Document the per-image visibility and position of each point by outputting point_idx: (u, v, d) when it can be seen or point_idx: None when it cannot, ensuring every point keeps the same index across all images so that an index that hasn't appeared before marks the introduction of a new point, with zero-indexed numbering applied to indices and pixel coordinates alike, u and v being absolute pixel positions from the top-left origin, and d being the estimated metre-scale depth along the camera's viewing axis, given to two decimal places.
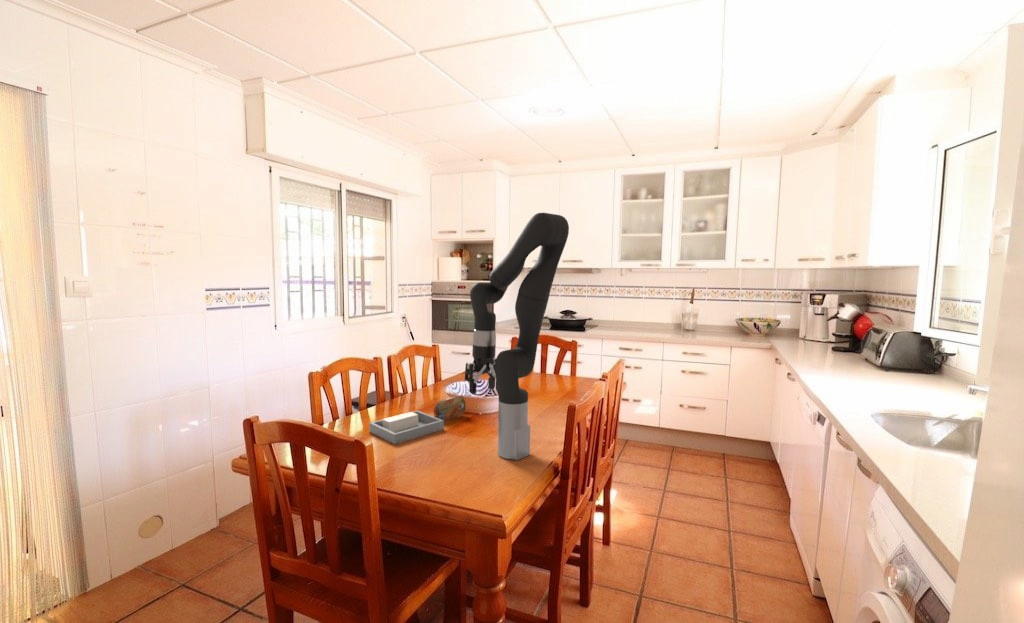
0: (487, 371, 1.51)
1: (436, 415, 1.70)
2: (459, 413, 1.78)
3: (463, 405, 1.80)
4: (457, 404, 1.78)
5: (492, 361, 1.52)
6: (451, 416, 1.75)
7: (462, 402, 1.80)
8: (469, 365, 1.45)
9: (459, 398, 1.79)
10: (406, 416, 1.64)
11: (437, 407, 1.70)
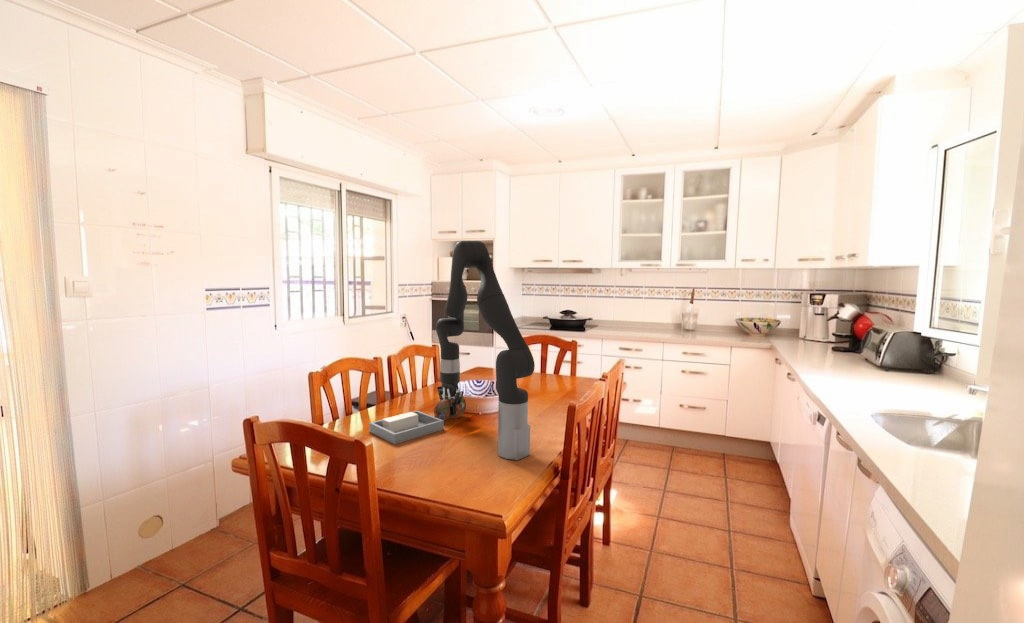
0: None
1: (436, 415, 1.70)
2: (459, 413, 1.78)
3: (463, 405, 1.80)
4: None
5: None
6: (451, 416, 1.75)
7: (462, 402, 1.80)
8: (462, 394, 1.71)
9: None
10: (406, 416, 1.64)
11: (437, 407, 1.70)
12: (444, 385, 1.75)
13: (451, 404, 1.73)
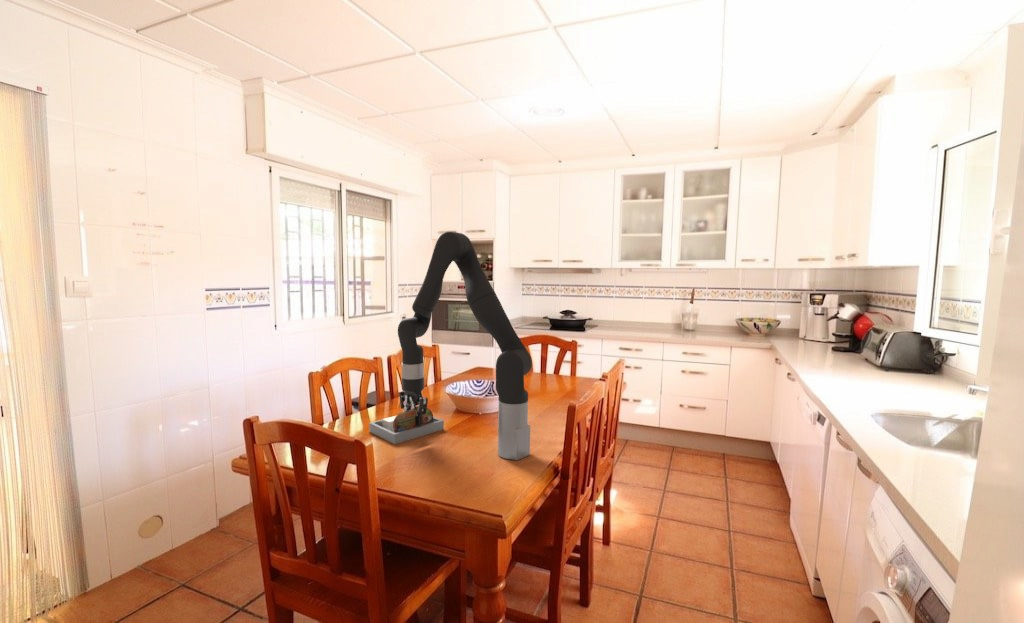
0: None
1: (395, 428, 1.52)
2: None
3: (430, 418, 1.62)
4: (422, 416, 1.59)
5: None
6: None
7: (429, 414, 1.61)
8: (426, 400, 1.53)
9: None
10: None
11: (396, 420, 1.52)
12: (407, 392, 1.57)
13: (416, 413, 1.54)
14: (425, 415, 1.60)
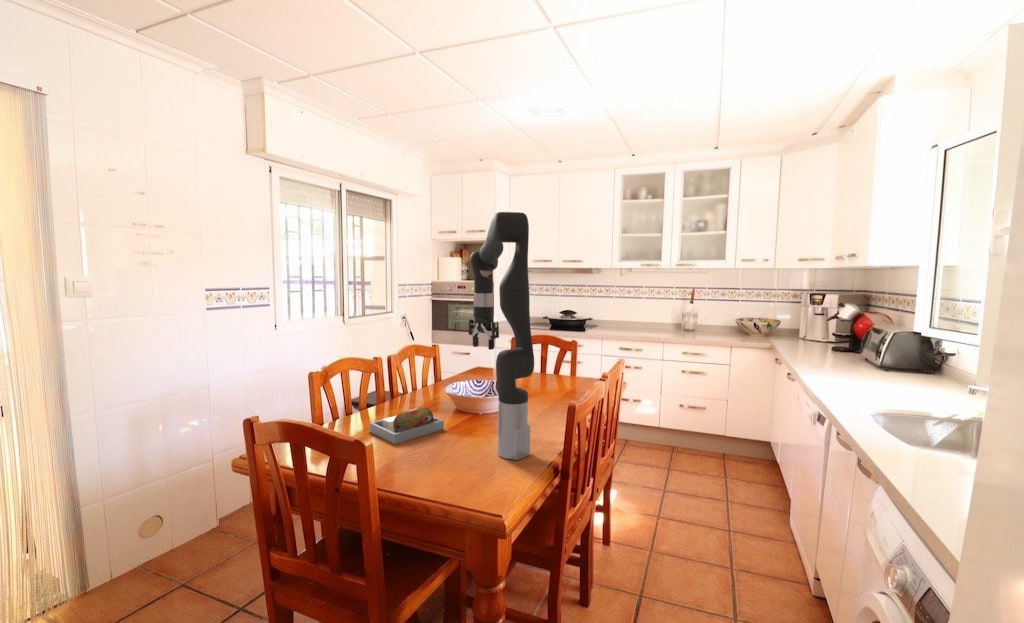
0: None
1: (395, 428, 1.52)
2: None
3: (430, 418, 1.62)
4: (422, 416, 1.59)
5: None
6: None
7: (429, 414, 1.61)
8: (497, 323, 1.67)
9: (425, 410, 1.60)
10: None
11: (396, 420, 1.52)
12: (477, 321, 1.72)
13: (489, 337, 1.68)
14: (425, 415, 1.60)
